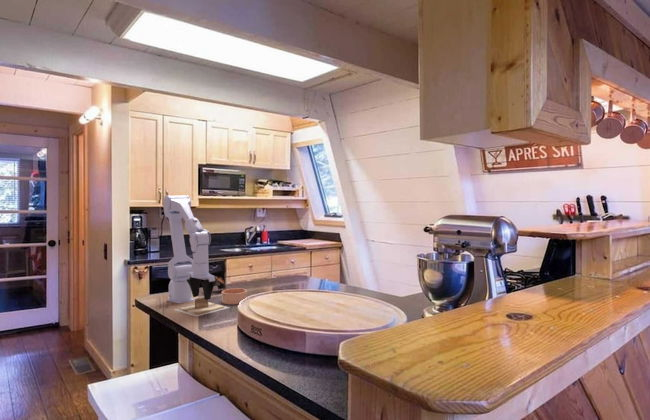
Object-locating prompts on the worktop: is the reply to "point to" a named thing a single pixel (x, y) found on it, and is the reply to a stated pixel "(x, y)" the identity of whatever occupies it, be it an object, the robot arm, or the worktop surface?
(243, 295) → the terracotta bowl
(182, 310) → the grey mat
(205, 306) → the birch lid
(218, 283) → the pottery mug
